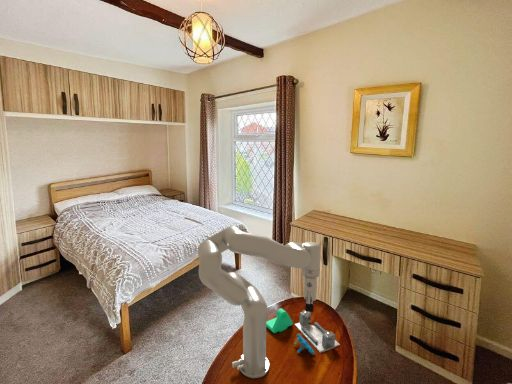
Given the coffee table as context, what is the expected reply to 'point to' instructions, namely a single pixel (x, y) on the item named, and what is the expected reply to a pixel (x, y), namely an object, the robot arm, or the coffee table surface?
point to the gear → (303, 344)
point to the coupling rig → (316, 333)
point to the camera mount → (279, 321)
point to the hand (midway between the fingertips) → (309, 310)
